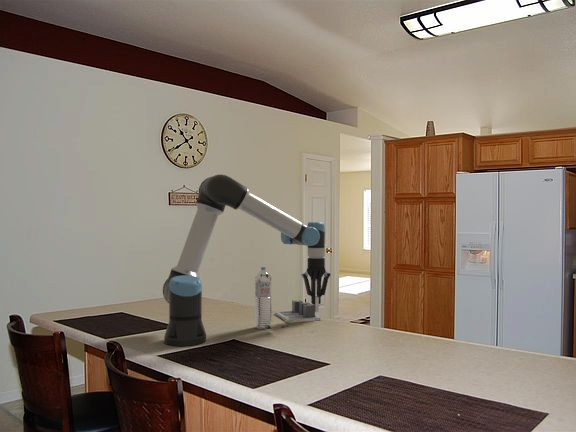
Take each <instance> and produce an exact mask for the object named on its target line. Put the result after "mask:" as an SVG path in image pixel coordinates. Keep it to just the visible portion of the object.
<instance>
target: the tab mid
mask: <svg viewBox="0 0 576 432" xmlns="http://www.w3.org/2000/svg"><path fill="white" fill-rule="evenodd" d="M307 304H309V305H310V304H311V303H310V302H307V301H303V303H299V315H303V305H307Z"/></svg>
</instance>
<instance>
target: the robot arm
mask: <svg viewBox="0 0 576 432" xmlns="http://www.w3.org/2000/svg"><path fill="white" fill-rule="evenodd" d="M195 206H196V209H197V210H196V212H195V216H194V218H193V221H192V223H191V226H190V228H189V232H188V234H187V237H186V240H185V243H184V244H183V245H184V246H183V248H182V251H181V253H180V256H179V260H178V262H177V265H176V266H174V267H172V268H171V270H170V272H169V275H168V278H167V279H166V280H165V282H164V283H163V286H162V295H163V298H164V299H165V301H166V302H167V304H169V307H168V309H169V310H168V311H169V312H168V316H169V317H168V318H169V319H168V324H167V327H166V330H165V334H164V337H163V338H164V339H163V342H164V344H166V345H167V346H173V347H174V346H176V347H187V346H196V345H197V346H198V345H201V344H203V343H206V341H207V331H206V330H205V326H204V322H203V319H202V318H203V317H202V315H203V314H202V308H203V307H202V305H203V304H202V302H203V300H202V299H203V298H202V295H203V294H202V293H203V292H202V291H203V285H202V280H201V277H200V274H199V270H200V267H201V264H202V261H203V259H204V256H205V254H206V250H207V248H208V245H209V242H210V241H211V240H210V239H211V237H212V234H213V231H214V228H215V225H216V222H217V220H218V217H219V216H220V215H222V214H224V212H225V208H226V206H227V207H230V208H231V209H234V210H241V211H242V212H244V213H245V214H248V215H250V216H251V217H252V218H256V219H257V220H258V221H261V222H262V223H264V224H266V225H268V226H269V227H271V228H273V229H274V230H277V231H278V232H279V233H280V240H281V242H282V244H283V245H299V246H300V245H301V246H306V247H307V257H308V258H307V268H306V271H305V272H304V273H301V277H302V278H303V281H304V285H305V290H306V295H308V296H310V298H311V303H310V304H312V305H314V306H315V313H319V308H320V306H319V305H320V304H321V301H322V299H321V297H322V296H325V295H326V291H327V286H328V281H329V278H330V277H331V273H330V272H328V271H327V270H326V268H325V267H326V263H325V260H326V259H325V257H326V252H325V251H326V250H325V249H326V248H325V247H326V245H325V243H326V241H325V239H326V238H325V237H326V235H325V234H326V227H325V223H324V222H320V221H318V222H317V221H316V222H315V221H312V222H310V221H309V222H307V224H305V223H304V222H302V221H299V220H298V219H296V218H295V217H293V216H291V215H289V214H288V213H286V212H284V211H283V210H281V209H279V208H277V207H276V206H274V205H272V204H271V203H269V202H267V201H265V200H264V199H262V198H260V197H258V196H257V195H255V194H253V193H252V192H250V190H249V188H248V186H247V187H246V186H245V185H243V184H241V183H240V182H239V181H237V180H235V179H234V178H232V177H231V176H229V175H226V174H215V175H213V176H209V177H207V178H204V180H203V181H202V182H201V183H200V185H199V188H198V196H197V198H196V202H195ZM309 277H310V281H309ZM322 278H323V280H322Z"/></svg>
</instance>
